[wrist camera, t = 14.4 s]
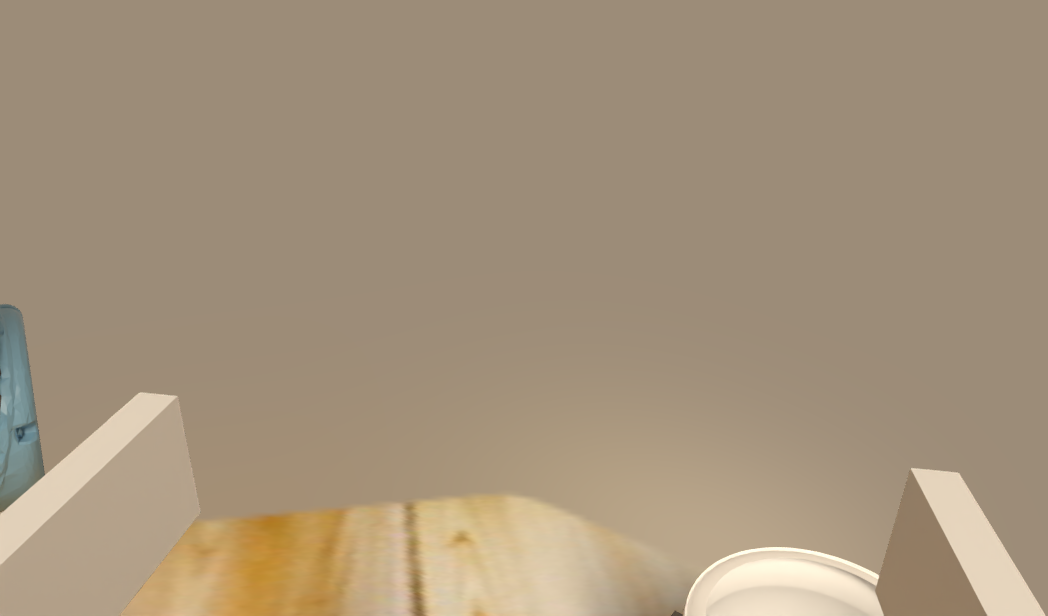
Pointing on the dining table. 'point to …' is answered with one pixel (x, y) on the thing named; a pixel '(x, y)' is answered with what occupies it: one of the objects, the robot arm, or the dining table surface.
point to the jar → (783, 586)
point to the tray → (676, 614)
